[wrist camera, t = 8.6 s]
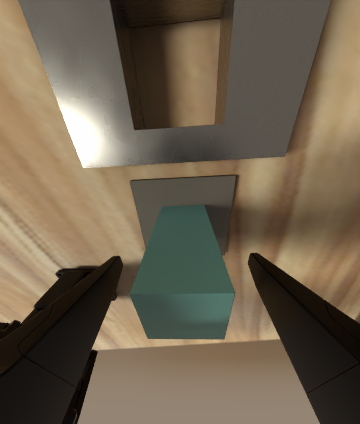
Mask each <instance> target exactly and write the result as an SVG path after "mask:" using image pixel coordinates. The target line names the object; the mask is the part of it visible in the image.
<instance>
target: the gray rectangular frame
mask: <svg viewBox="0 0 360 424" xmlns="http://www.w3.org/2000/svg"><path fill="white" fill-rule="evenodd" d="M18 1H19V4H20V6H21V9H22V11H23V14H24V17H25V19H26V22H27V24H28V27H29V29H30V32H31V35H32V37H33V40H34V42H35V45H36V47H37V50H38V53H39V55H40V58H41V60H42V63H43V65H44V68H45V71H46V73H47V76H48V78H49V81H50V83H51V86H52V89H53V91H54V94H55V96H56V99H57V102H58V104H59V107H60V109H61V112H62V114H63V117H64V120H65V122H66V125H67V127H68V130H69V132H70V135H71V138H72V140H73V143H74V145H75V148H76V150H77V153H78V156H79V158H80V161H81V163H82V166H83V168H93V167H110V166H127V165H145V164H162V163H179V162H197V161H214V160H231V159H249V158H266V157H283V156H285V154H286V151H287V148H288V144H289V141H290V137H291V134H292V131H293V127H294V124H295V121H296V117H297V114H298V110H299V107H300V104H301V100H302V97H303V94H304V90H305V87H306V83H307V80H308V77H309V73H310V70H311V67H312V63H313V60H314V56H315V53H316V50H317V46H318V43H319V40H320V36H321V33H322V29H323V26H324V23H325V19H326V16H327V13H328V9H329V6H330V2H331V0H18ZM214 18H221V27H220V44H219V62H218V79H217V96H216V114H215V125H204V126H190V127H176V128H162V129H148V130H145V128H144V121H143V115H142V109H141V102H140V96H139V89H138V83H137V76H136V70H135V63H134V57H133V51H132V44H131V38H130V31H129V28H133V27H142V26H151V25H160V24H169V23H178V22H187V21H196V20H205V19H214Z"/></svg>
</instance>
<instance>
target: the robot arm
mask: <svg viewBox="0 0 360 424" xmlns="http://www.w3.org/2000/svg"><path fill="white" fill-rule="evenodd" d="M248 265H249V268H250V271H251V274H252V277H253V279H254V282H255V285H256V288H257V290H258V292H259V294H260V297H261V299H262V301H263V303H264V305H265V307H266V309H267V311H268V314H269V316H270V318H271V320H272V322H273V324H274V326H275V328H276V331H277V333H278V335H279V337H280V339H281V341H282V343H283V345H284V348H285V350H286V352H287V354H288V356H289V358H290V360H291V363H292V365H293V367H294V369H295V371H296V373H297V375H298V377H299V380H300V382H301V384H302V386H303V388H304V390H305V392H306V393H307V397H308V399H309V401H310V403H311V405H312V407H313V409H314V412H315V414H316V416H317V418H318V420H319V422H320V424H360V324H359V323H358V322H356V321H355V320H353V319H352V318H350V317H349V316H347V315H346V314H344V313H343V312H341V311H340V310H338V309H337V308H336V307H334V306H333V305H331V304H330V303H328V302H327V301H326V300H323V298H321V297H320V296H318V295H317V294H315V293H314V292H313V291H311V290H310V289H308V288H307V287H305V286H304V285H303V284H301V283H300V282H298V281H297V280H295V279H294V278H293V277H291V276H290V275H288V274H287V273H285V272H284V271H283V270H281V269H280V268H278V267H277V266H275V265H274V264H273V263H271V262H270V261H268V260H267V259H265V258H264V257H263V256H261V255H260V254H258V253H251V254H250V256H249V260H248ZM122 268H123V263H122V260H121V258H120V256H113V257H111V258H110V259H109V260H108V261H106V262H105V263H104V264H102V265H101V266H100V267H98V268H97V269H78V270H58V271H57V272H56V276H57V277H58V278H59V279H58V280H57V281H56V282H55V283H54V285H53V286H52V287H51V288H50V289H49V290H48V291H47V292H46V293H45V294H44V295H43V296H42V297H41V298H40V299H39V301H38V302H37V303H36V304H35V305H34V308H35V309H34V310H33V311H32V312H31V313H30V314H29V315H28V316H27V317H26V319H25V320H24V321H23V322H22V323H21V322H19V321H17V320H14V321H13V322H11V323H10V324H9V323H0V424H77V422H78V419H79V416H80V413H81V409H82V406H83V402H84V398H85V395H86V391H87V388H88V384H89V381H90V377H91V374H92V370H93V367H94V363H95V359H96V356H97V353H98V351H96V350H91V349H92V347H93V344H94V342H95V340H96V337H97V335H98V332H99V330H100V327H101V325H102V322H103V320H104V318H105V315H106V313H107V310H108V308H109V305H110V303H111V301H114V300H116V298H117V295H116V293H115V291H116V288H117V285H118V281H119V278H120V275H121V271H122ZM20 323H21V324H20Z"/></svg>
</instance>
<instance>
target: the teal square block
mask: <svg viewBox="0 0 360 424" xmlns="http://www.w3.org/2000/svg"><path fill="white" fill-rule="evenodd" d="M234 296H235V292H234V289H233V286H232V283H231V280H230V277H229V275H228V272H227V269H226V266H225V263H224V260H223V257H222V254H221V252H220V249H219V246H218V243H217V240H216V237H215V234H214V231H213V229H212V226H211V223H210V220H209V217H208V214H207V211H206V208H205V206H204V205H187V206H165V207H161V210H160V212H159V215H158V218H157V220H156V223H155V226H154V229H153V231H152V234H151V237H150V240H149V242H148V245H147V248H146V251H145V253H144V256H143V259H142V261H141V264H140V267H139V270H138V272H137V275H136V278H135V281H134V283H133V286H132V289H131V292H130V297H131V299H132V302H133V304H134V306H135V309H136V311H137V314H138V316H139V318H140V321H141V323H142V326H143V328H144V331H145V333H146V335H147V338H148V339H225V335H226V330H227V326H228V322H229V317H230V313H231V309H232V304H233V300H234Z"/></svg>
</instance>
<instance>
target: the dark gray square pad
mask: <svg viewBox="0 0 360 424" xmlns="http://www.w3.org/2000/svg"><path fill="white" fill-rule="evenodd" d="M235 180H236V175H220V176H200V177H181V178H162V179H142V180H131V181H130V185H131V189H132V193H133V197H134V201H135V205H136V210H137V214H138V218H139V222H140V226H141V231H142V235H143V239H144V243H145V247H146V248H147V245H148V242H149V240H150V237H151V234H152V231H153V229H154V226H155V223H156V220H157V218H158V215H159V212H160V210H161V207H165V206H187V205H204V206H205V208H206V211H207V214H208V217H209V220H210V223H211V226H212V229H213V231H214V234H215V237H216V240H217V243H218V246H219V249H220V252H221V254H222V255H225V249H226V242H227V236H228V229H229V222H230V215H231V208H232V201H233V194H234V187H235Z"/></svg>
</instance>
